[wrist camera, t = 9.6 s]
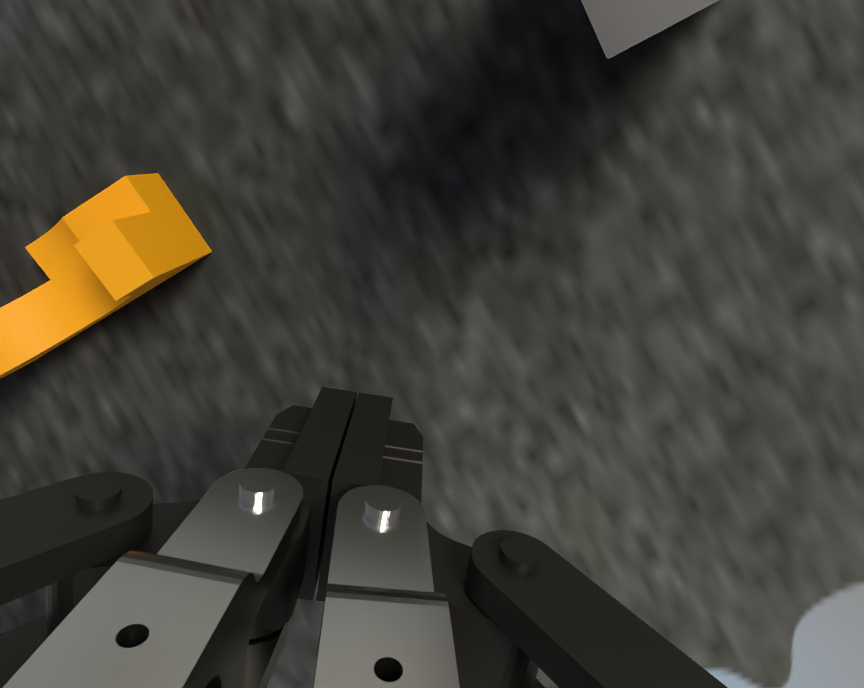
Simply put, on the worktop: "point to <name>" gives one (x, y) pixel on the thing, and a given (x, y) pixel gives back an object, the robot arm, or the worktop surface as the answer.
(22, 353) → the pipe clamp
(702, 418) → the worktop surface
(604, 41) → the milk
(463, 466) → the worktop surface
